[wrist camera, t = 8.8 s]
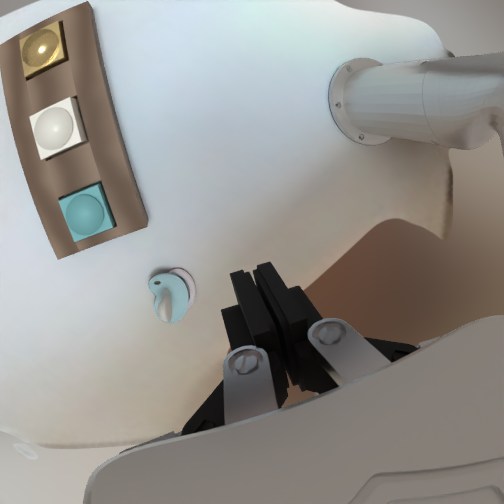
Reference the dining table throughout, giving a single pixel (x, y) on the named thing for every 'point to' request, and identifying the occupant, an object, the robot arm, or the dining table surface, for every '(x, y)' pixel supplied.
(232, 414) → the robot arm
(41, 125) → the cream button
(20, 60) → the button panel
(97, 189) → the teal button
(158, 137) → the dining table surface
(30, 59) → the brass button
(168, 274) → the pacifier
